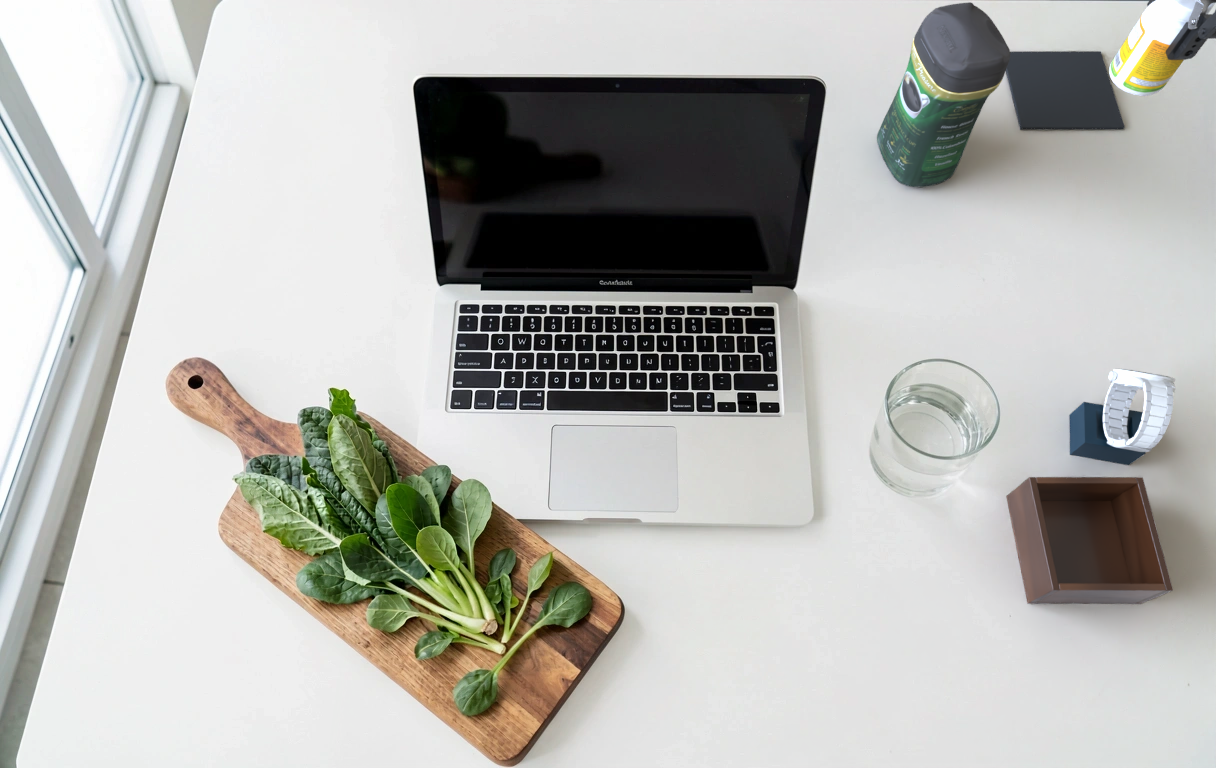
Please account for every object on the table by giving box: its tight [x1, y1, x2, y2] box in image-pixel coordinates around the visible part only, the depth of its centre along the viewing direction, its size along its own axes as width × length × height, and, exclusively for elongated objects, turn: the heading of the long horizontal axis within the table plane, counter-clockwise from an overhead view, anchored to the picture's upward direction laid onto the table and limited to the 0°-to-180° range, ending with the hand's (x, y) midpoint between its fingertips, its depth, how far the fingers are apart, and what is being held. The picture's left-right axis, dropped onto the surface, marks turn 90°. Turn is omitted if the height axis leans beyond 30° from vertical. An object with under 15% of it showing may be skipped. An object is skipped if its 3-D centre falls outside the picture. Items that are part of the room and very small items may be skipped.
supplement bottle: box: [1108, 0, 1216, 97], centre depth 83 cm, size 5×5×10 cm
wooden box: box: [1006, 476, 1174, 605], centre depth 81 cm, size 10×10×5 cm
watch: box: [1068, 368, 1176, 466], centre depth 83 cm, size 6×8×11 cm
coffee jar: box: [876, 1, 1011, 188], centre depth 95 cm, size 10×8×19 cm
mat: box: [1005, 50, 1126, 131], centre depth 108 cm, size 12×12×1 cm
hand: (1167, 32), depth 83 cm, fingers closed on supplement bottle, 5 cm apart
